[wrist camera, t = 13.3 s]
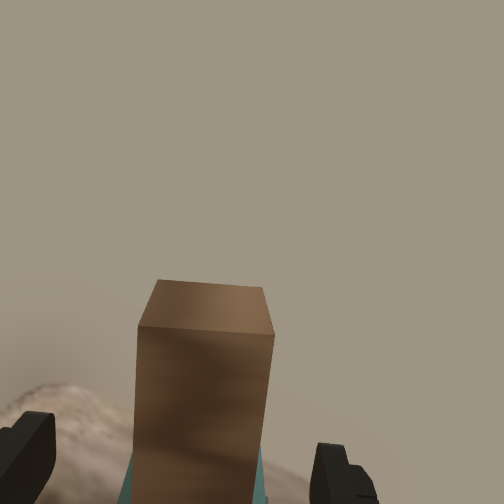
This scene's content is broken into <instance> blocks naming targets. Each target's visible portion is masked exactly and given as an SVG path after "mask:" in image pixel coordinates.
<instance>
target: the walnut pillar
mask: <svg viewBox="0 0 504 504" xmlns="http://www.w3.org/2000/svg"><path fill="white" fill-rule="evenodd" d="M274 338H275V333H274V330H273V326H272V322H271V319H270V315H269V311H268V308H267V304H266V300H265V296H264V293H263V289H262V288H261V287H248V286H236V285H222V284H209V283H197V282H184V281H172V280H157V283H156V285H155V287H154V290H153V292H152V294H151V297H150V299H149V301H148V303H147V306H146V308H145V311H144V313H143V315H142V317H141V320H140V322H139V325H138V336H137V360H136V385H135V386H136V387H135V410H134V435H133V459H132V484H131V504H252V501H253V493H254V486H255V478H256V471H257V464H258V456H259V449H260V441H261V434H262V427H263V418H264V412H265V404H266V397H267V390H268V382H269V374H270V367H271V359H272V353H273V345H274Z"/></svg>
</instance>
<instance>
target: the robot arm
mask: <svg viewBox="0 0 504 504" xmlns="http://www.w3.org/2000/svg"><path fill="white" fill-rule="evenodd" d="M55 460H56V432H55V416H54V414H53V413H45V412H35V411H26V412H25V413H23V414H22V416H21V417H20V418H19V419H18V420H17V422H16V423H15V424H14V425H13V426H12V428H9V427H3V428H1V429H0V504H34V503H35V501H36V499H37V498H38V496H39V494H40V493H41V491H42V489H43V488H44V486H45V484H46V483H47V481H48V480H49V478H50V476H51V474H52V471H53V468H54V465H55ZM309 500H310V504H379V501H378V500H377V494H376V491H375V488H374V485H373V482H372V480H371V479H370V477H369V476H368V475H367V473H366V472H365V471H364V469H363V468H362V467H361V466H359V465H350V464H349V463H348V459H347V455H346V451H345V448H344V446H343V445H338V444H329V443H318V445H317V449H316V455H315V460H314V465H313V471H312V476H311V482H310V493H309Z"/></svg>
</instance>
